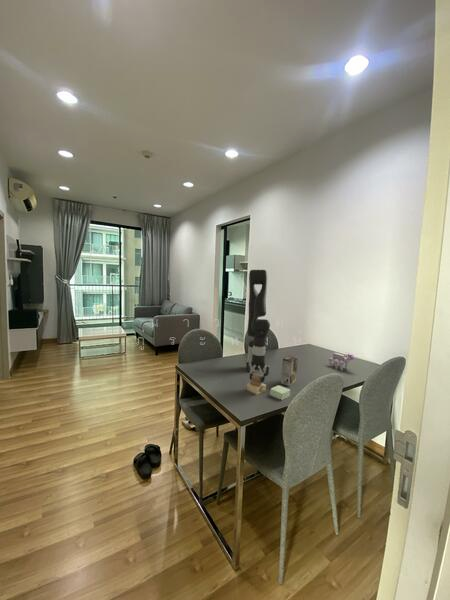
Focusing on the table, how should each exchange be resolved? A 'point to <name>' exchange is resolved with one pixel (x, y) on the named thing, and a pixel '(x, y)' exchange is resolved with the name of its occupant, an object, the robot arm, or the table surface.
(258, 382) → the walnut cube
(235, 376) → the table surface
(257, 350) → the robot arm
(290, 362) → the coffee box
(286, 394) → the sage base block
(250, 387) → the oak base block
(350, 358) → the toy sheep
